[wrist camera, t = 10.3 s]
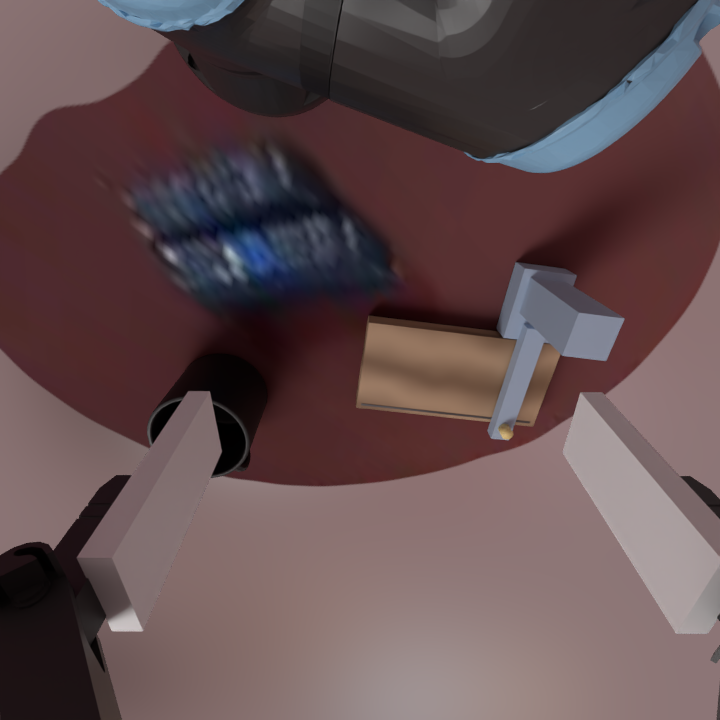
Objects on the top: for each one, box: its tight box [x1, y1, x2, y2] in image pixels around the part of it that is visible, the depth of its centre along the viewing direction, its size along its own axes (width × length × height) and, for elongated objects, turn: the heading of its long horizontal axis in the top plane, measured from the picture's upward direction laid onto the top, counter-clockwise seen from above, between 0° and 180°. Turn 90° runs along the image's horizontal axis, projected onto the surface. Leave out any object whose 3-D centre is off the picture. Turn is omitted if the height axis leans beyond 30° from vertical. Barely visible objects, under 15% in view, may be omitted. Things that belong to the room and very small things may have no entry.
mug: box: [147, 354, 267, 478], centre depth 44 cm, size 9×12×9 cm
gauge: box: [488, 262, 625, 440], centre depth 40 cm, size 18×5×12 cm, turn 172°
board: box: [356, 315, 560, 427], centre depth 45 cm, size 10×20×2 cm, turn 82°
